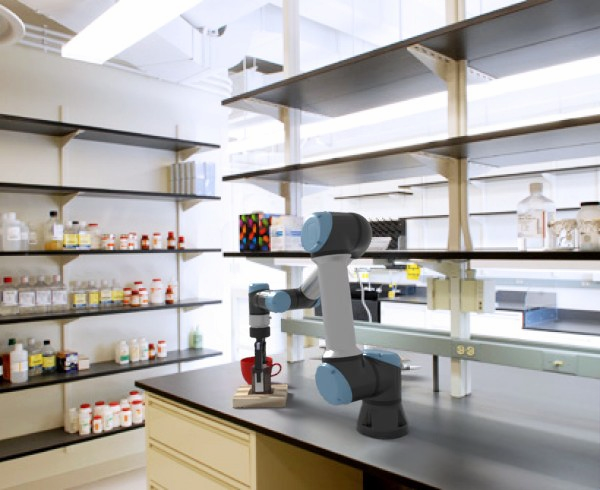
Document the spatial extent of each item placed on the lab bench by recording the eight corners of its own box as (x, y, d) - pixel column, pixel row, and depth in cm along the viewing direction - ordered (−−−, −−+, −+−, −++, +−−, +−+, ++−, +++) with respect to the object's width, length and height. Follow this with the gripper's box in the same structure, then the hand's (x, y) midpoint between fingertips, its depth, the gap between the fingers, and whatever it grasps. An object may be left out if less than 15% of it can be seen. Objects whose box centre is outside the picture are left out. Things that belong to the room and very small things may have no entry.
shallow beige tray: (285, 406, 168) (284, 398, 169) (232, 407, 169) (232, 398, 169) (287, 392, 186) (287, 384, 186) (240, 393, 186) (239, 385, 186)
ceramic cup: (276, 390, 189) (276, 364, 189) (235, 388, 193) (235, 362, 193) (286, 381, 201) (286, 356, 201) (247, 379, 206) (247, 355, 206)
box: (272, 399, 178) (271, 365, 178) (264, 402, 174) (263, 368, 174) (259, 396, 181) (258, 363, 181) (251, 400, 177) (250, 366, 177)
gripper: (267, 331, 166) (268, 396, 165) (272, 321, 189) (274, 377, 189) (244, 331, 166) (246, 396, 165) (253, 321, 190) (254, 378, 189)
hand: (261, 386), depth 177 cm, fingers open, 11 cm apart
